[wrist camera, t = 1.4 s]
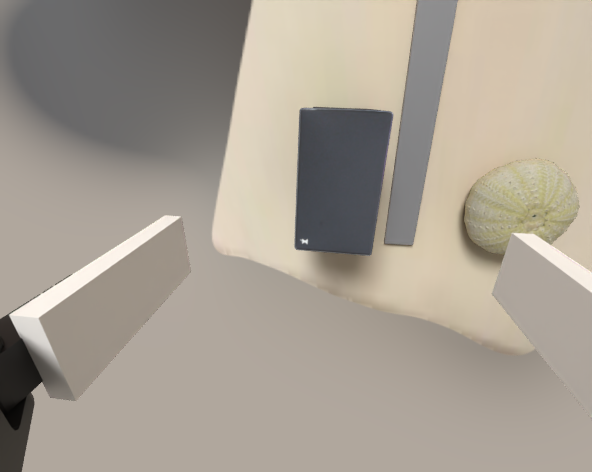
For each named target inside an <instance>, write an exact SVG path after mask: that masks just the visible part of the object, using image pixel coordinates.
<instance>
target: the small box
mask: <svg viewBox="0 0 592 472" xmlns="http://www.w3.org/2000/svg"><path fill="white" fill-rule="evenodd" d="M392 120H393V113H392V112H390V111H381V110H373V109H351V108H328V107H313V108H301V109H300V115H299V137H298V163H297V189H296V217H295V249H296V250H305V251H318V252H330V253H341V254H353V255H366V256H370V255H371V253H372V248H373V241H374V234H375V228H376V222H377V215H378V209H379V202H380V195H381V189H382V183H383V176H384V170H385V164H386V158H387V151H388V145H389V139H390V133H391V127H392Z"/></svg>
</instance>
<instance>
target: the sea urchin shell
mask: <svg viewBox="0 0 592 472" xmlns="http://www.w3.org/2000/svg"><path fill="white" fill-rule="evenodd" d="M465 205H466V206H465V216H464V222H465V225H466V229H467V233H468V235H469V237H470V238H471V240H472V241H473V242H474V243H475V244H477V245H478V246H480V247H482V248H483V249H485V250H487V252H490V253H497V254H501V255H505V252H506V249H507V246H508V243H509V240H510V237H511V234H512V233H525V234H535V235H536V236H538V237H539V238H541V239H542V240H544V241H545V242H547V243H548V244H552V243H553V242H554V241H555V240H556V239H557V238H558V237H559V236H561V235H562V234H563V233H564V232H565V231H567V228H568V227H569V226H570V224H571V223H572V222H573V220H574V219H575V218H576V216H577V213H578V209H579V207H580V206H579V200H578V197H577V189H576V188H575V187H574V185H573V184H572V182H571V180H570V178H569V176H568V175H567V173H565V171H563V170H562V169H560V168H559V167H558V166H557V165H556V164H554V162H550V161H549V160H548V161H547V160H542V159H537V158H535V159H528V160H522V161H516V162H512V163H509V164H507V165H505V166H502V167H498V168H496V169H493V170H492V171H490V172H489V173H488V174H486V175H485V176H483V177H482V178H480V179H478V180H477V182H476V183H475V184H474V185H473V187H472V188H471V190H470V193H469V196H468V198H467V201H466V203H465Z"/></svg>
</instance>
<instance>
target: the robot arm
mask: <svg viewBox="0 0 592 472" xmlns="http://www.w3.org/2000/svg"><path fill="white" fill-rule="evenodd" d="M190 272H191V268H190V263H189V256H188V251H187V245H186V239H185V233H184V228H183V221H182V217H181V216H164V217H162V218H161V219H159V220H157V221H156V222H154V223H153V224H151V225H150V226H148V227H146V228H145V229H143V230H142V231H140V232H139V233H137V234H135V235H134V236H132V237H131V238H129V239H127V240H126V241H124V242H123V243H121V244H120V245H118V246H116V247H115V248H113V249H112V250H110V251H109V252H107V253H106V254H104V255H103V256H101V257H99V258H98V259H96V260H94V261H93V262H91V263H90V264H88V265H87V266H85V267H84V268H82V269H81V270H79V271H77V272H76V273H74V274H71V275H69V276H68V277H66V278H65V279H63V280H61V281H60V282H58V283H57V284H55V286H52V287H50V288H49V289H47V290H46V291H44V292H43V294H39V295H38V296H36V297H34V298H33V299H31V300H30V301H28V302H26V303H25V304H23V305H22V306H20V307H19V308H17V309H15V310H14V311H12V312H11V313H9V314H8V315H6V316H5V317H3V318H1V319H0V472H22V466H23V461H24V456H25V450H26V445H27V440H28V435H29V430H30V424H31V419H32V414H33V408H34V398H33V395H32V394H31V392H32V391H33V390H34V388H36V387H37V386H38V385H39V384H40V383H41V382H43V384H44V386H45V388H46V390H47V392H48V394H49V396H50V398H57V399H64V400H71V401H76V400H77V399H78V398H79V397H80V396H81V395H82V394H83V392H84V391H85V390H86V389H87V388H88V387H89V386H90V385H91V384H92V382H93V381H94V380H95V379H96V378H97V377H98V376H99V375H100V373H101V372H102V371H103V370H104V369H105V368H106V367H107V366H108V364H109V363H110V362H111V361H112V360H113V359H114V357H116V355H117V354H118V353H119V352H120V351H121V350H122V349H123V348H124V346H125V345H126V344H127V343H128V342H129V341H130V340H131V338H132V337H133V336H134V335H135V334H136V333H137V332H138V331H139V330H140V329H141V327H142V326H143V325H144V324H145V323H146V322H147V321H148V320H149V318H150V317H151V316H152V315H153V314H154V313H155V312H156V311H157V309H158V308H159V307H160V306H161V305H162V304H163V303H164V302H165V300H166V299H167V298H168V297H169V296H170V295H171V294H172V293H173V291H174V290H175V289H176V288H177V287H178V286H179V285H180V283H181V282H182V281H183V280H184V279H185V278H186V277H187V276H188V275H189V273H190ZM492 295H493V296H494V297H495V299H496V300H497V301H498V302H499V304H500V305H501V306H502V308H503V309H504V310H505V311H506V313H507V314H508V315H509V316H510V318H511V319H512V320H513V321H514V323H515V324H516V325H517V326H518V328H519V329H520V330H521V331H522V333H523V334H524V335H525V336H526V338H527V339H528V340H529V341H530V343H531V344H532V345H533V346H534V348H535V349H536V350H537V351H538V353H539V354H540V355H541V356H542V357H543V359H544V360H545V361H546V363H547V364H548V365H549V366H550V368H551V369H552V370H553V371H554V373H555V374H556V375H557V376H558V378H559V379H560V380H561V381H562V383H563V384H564V385H565V386H566V387H567V389H568V390H569V391H570V393H571V394H572V395H573V396H574V398H575V399H576V400H577V401H578V403H579V404H580V405H581V406H582V408H583V409H584V410H585V411H586V413H587V414H588V415H589V416H590V418H591V419H592V272H590V271H589V270H587V269H586V268H584V267H583V266H581V265H580V264H578V263H577V262H575V261H574V260H572V259H571V258H569V257H568V256H566V255H565V254H563V253H562V252H560V251H559V250H557V249H556V248H554V247H553V246H551V245H550V244H548V243H547V242H545V241H544V240H542V239H541V238H539V237H538V236H536V235H535V234H525V233H512V234H511V237H510V240H509V243H508V246H507V249H506V252H505V255H504V258H503V261H502V264H501V267H500V270H499V273H498V277H497V280H496V283H495V286H494V289H493V292H492Z"/></svg>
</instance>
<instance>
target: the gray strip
mask: <svg viewBox="0 0 592 472" xmlns="http://www.w3.org/2000/svg"><path fill="white" fill-rule="evenodd" d="M457 1H458V0H417V5H416V12H415V20H414V27H413V34H412V42H411V49H410V56H409V64H408V71H407V78H406V86H405V93H404V100H403V107H402V115H401V122H400V129H399V137H398V144H397V151H396V159H395V166H394V173H393V181H392V188H391V195H390V202H389V210H388V217H387V224H386V232H385V239H384V243H386V244H403V245H413V242H414V237H415V231H416V226H417V220H418V215H419V209H420V204H421V199H422V193H423V188H424V182H425V177H426V171H427V166H428V160H429V155H430V149H431V144H432V138H433V133H434V127H435V122H436V116H437V111H438V105H439V100H440V94H441V89H442V83H443V78H444V73H445V67H446V62H447V56H448V51H449V45H450V40H451V34H452V29H453V23H454V18H455V12H456V7H457Z"/></svg>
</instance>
